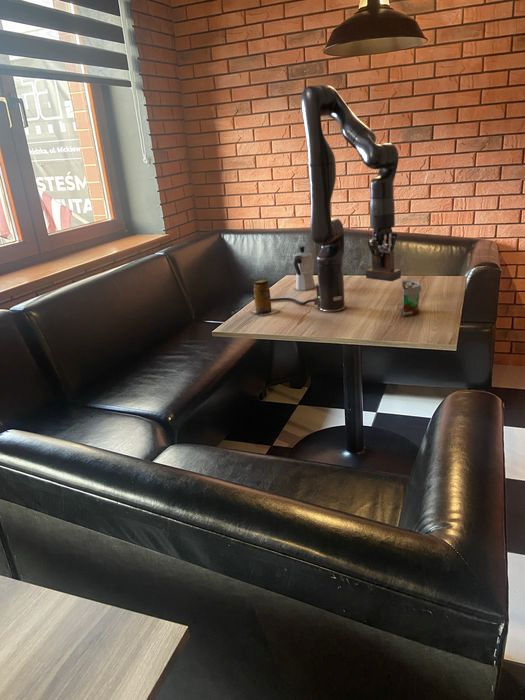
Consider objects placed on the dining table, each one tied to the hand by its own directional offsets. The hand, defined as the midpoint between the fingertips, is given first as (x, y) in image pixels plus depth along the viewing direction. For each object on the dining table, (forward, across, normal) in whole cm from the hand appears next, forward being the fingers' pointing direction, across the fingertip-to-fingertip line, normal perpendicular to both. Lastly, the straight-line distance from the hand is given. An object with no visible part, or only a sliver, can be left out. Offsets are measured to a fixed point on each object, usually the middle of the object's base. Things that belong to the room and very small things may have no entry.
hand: (383, 266), depth 173 cm
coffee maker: (+19, -21, -55) cm, 62 cm away
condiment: (+19, +12, -46) cm, 51 cm away
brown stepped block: (+4, 0, 0) cm, 4 cm away
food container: (+19, -13, +3) cm, 23 cm away
